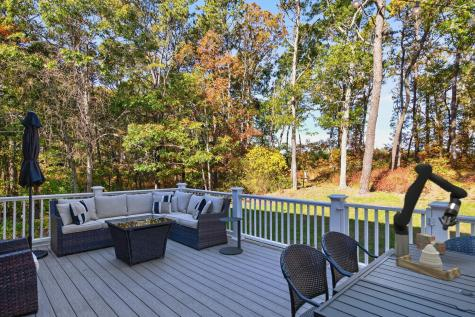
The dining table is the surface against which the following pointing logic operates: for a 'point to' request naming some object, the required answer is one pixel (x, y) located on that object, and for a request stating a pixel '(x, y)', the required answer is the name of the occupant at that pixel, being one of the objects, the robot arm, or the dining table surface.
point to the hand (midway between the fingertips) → (444, 229)
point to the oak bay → (427, 269)
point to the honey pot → (431, 257)
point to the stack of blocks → (427, 239)
